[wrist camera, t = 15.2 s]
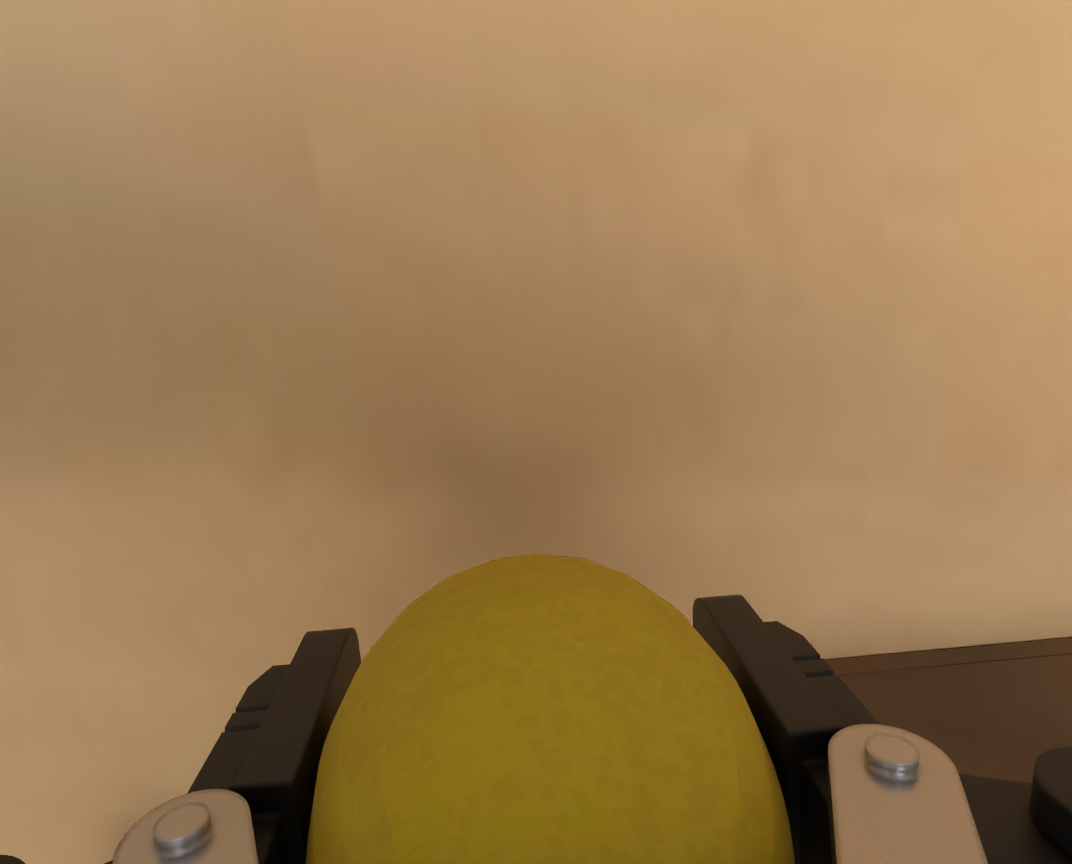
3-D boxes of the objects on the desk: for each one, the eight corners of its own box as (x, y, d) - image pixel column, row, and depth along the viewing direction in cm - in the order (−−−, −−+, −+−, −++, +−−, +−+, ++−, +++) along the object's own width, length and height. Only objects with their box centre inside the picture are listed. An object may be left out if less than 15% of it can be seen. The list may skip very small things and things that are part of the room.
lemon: (628, 785, 13) (823, 1490, 6) (343, 733, 13) (119, 1457, 5) (715, 524, 12) (1107, 953, 5) (408, 452, 12) (253, 810, 4)
